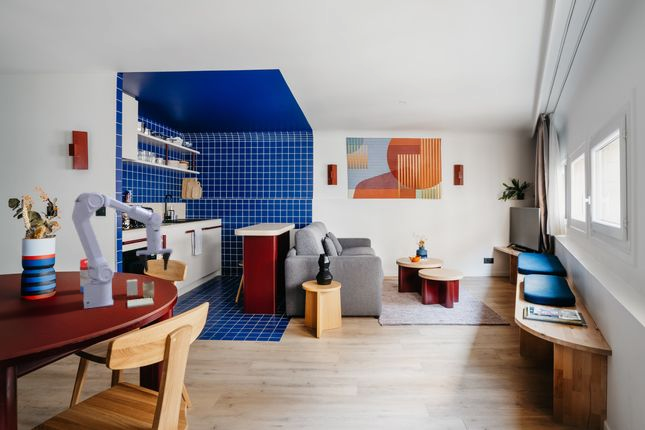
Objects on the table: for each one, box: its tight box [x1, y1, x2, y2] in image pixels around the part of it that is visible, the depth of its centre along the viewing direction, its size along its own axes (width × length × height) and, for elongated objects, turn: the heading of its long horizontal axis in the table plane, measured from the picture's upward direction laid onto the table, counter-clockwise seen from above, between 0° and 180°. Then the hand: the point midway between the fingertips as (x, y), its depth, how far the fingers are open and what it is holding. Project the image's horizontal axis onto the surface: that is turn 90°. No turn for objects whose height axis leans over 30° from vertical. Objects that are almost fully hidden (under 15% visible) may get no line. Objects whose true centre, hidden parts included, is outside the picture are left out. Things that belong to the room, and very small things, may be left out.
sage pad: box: [127, 297, 155, 309], centre depth 144 cm, size 9×9×1 cm
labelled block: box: [142, 280, 155, 299], centre depth 154 cm, size 4×4×6 cm
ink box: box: [79, 257, 91, 294], centre depth 164 cm, size 8×5×15 cm, turn 179°
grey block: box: [126, 278, 139, 297], centre depth 158 cm, size 4×4×6 cm
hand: (156, 270), depth 159 cm, fingers open, 7 cm apart
